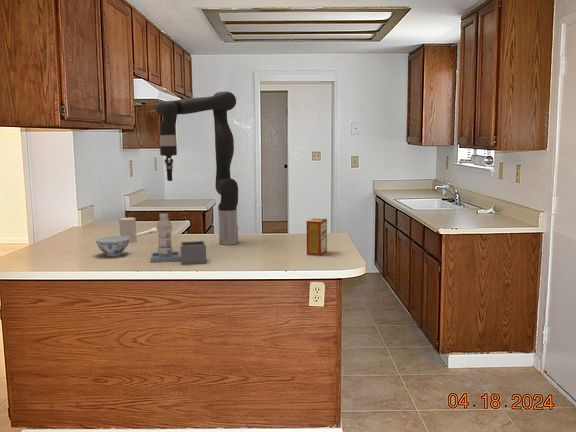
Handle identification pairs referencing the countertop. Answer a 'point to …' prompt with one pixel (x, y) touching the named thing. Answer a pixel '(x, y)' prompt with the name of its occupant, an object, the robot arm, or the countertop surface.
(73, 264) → the countertop surface
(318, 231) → the baking soda box
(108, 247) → the chinaware
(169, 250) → the plastic bottle
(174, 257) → the tray
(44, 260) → the countertop surface
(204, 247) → the holder
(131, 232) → the cup
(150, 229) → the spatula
